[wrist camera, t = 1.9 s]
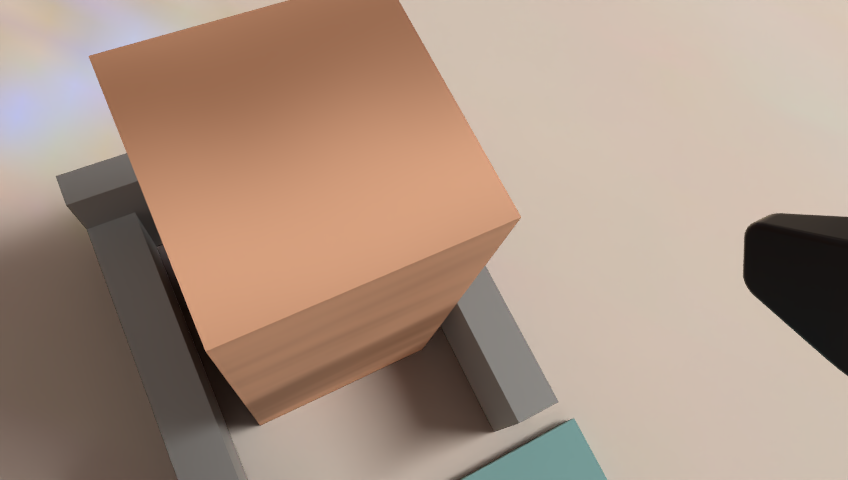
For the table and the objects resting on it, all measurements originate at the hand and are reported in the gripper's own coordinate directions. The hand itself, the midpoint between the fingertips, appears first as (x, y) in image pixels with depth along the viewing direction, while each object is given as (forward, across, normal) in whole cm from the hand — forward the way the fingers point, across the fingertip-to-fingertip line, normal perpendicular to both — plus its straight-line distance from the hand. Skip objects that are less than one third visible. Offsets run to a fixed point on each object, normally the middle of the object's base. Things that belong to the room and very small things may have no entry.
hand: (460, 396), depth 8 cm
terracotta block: (+11, 0, +5) cm, 12 cm away
